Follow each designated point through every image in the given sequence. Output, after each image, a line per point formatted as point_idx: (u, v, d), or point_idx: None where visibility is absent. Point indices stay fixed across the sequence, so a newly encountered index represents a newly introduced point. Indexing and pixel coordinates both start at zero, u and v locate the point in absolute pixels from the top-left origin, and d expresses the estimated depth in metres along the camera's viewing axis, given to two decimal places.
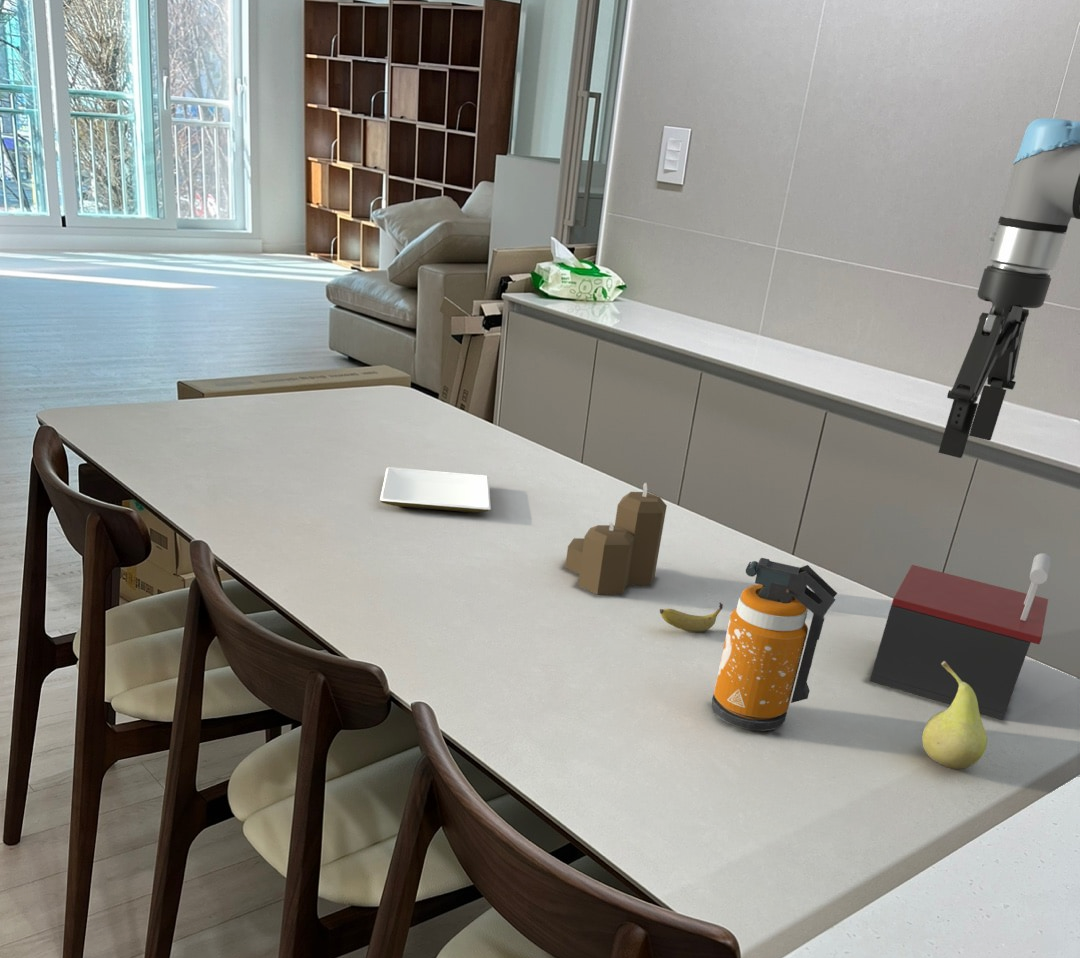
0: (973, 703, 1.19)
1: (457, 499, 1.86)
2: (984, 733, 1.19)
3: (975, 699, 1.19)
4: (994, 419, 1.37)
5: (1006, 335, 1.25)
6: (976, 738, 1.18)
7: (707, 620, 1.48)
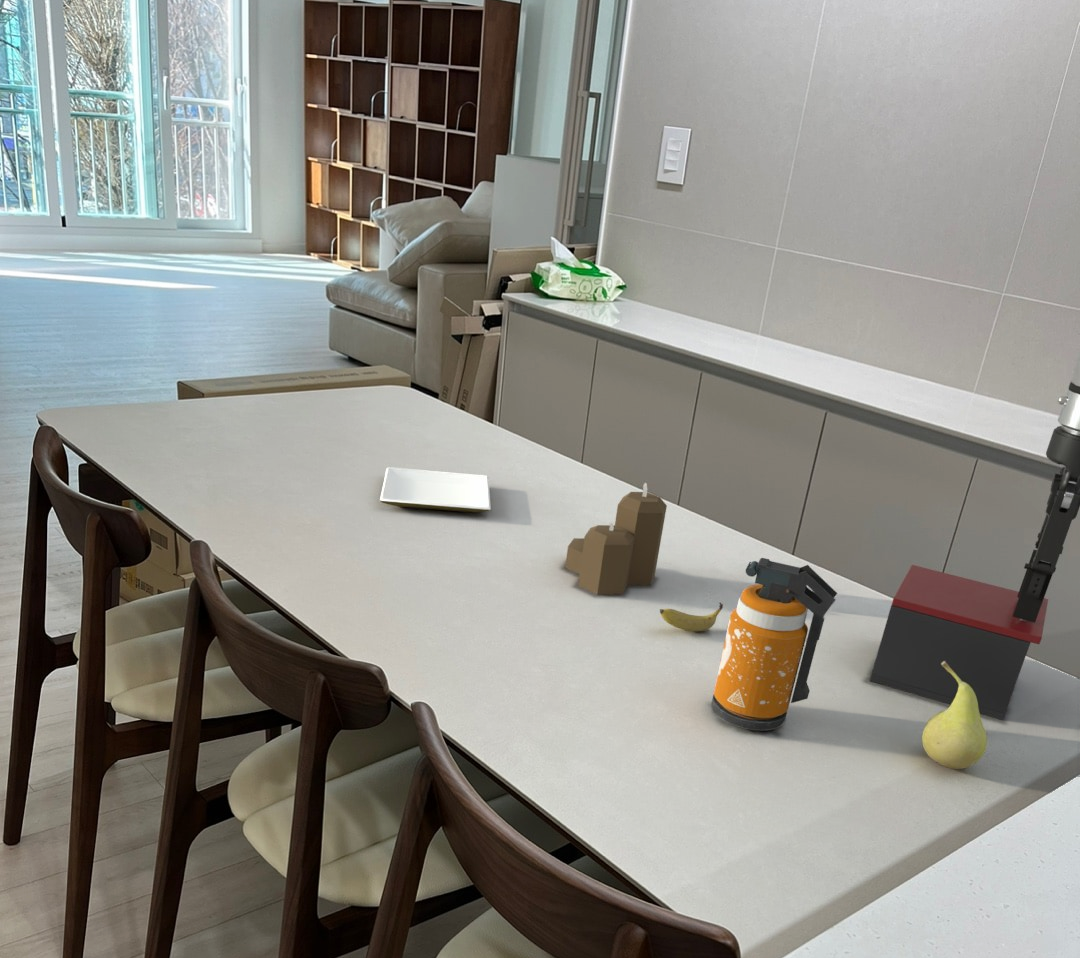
0: (973, 703, 1.19)
1: (457, 499, 1.86)
2: (984, 733, 1.19)
3: (975, 699, 1.19)
4: None
5: (1078, 500, 1.26)
6: (976, 738, 1.18)
7: (707, 620, 1.48)
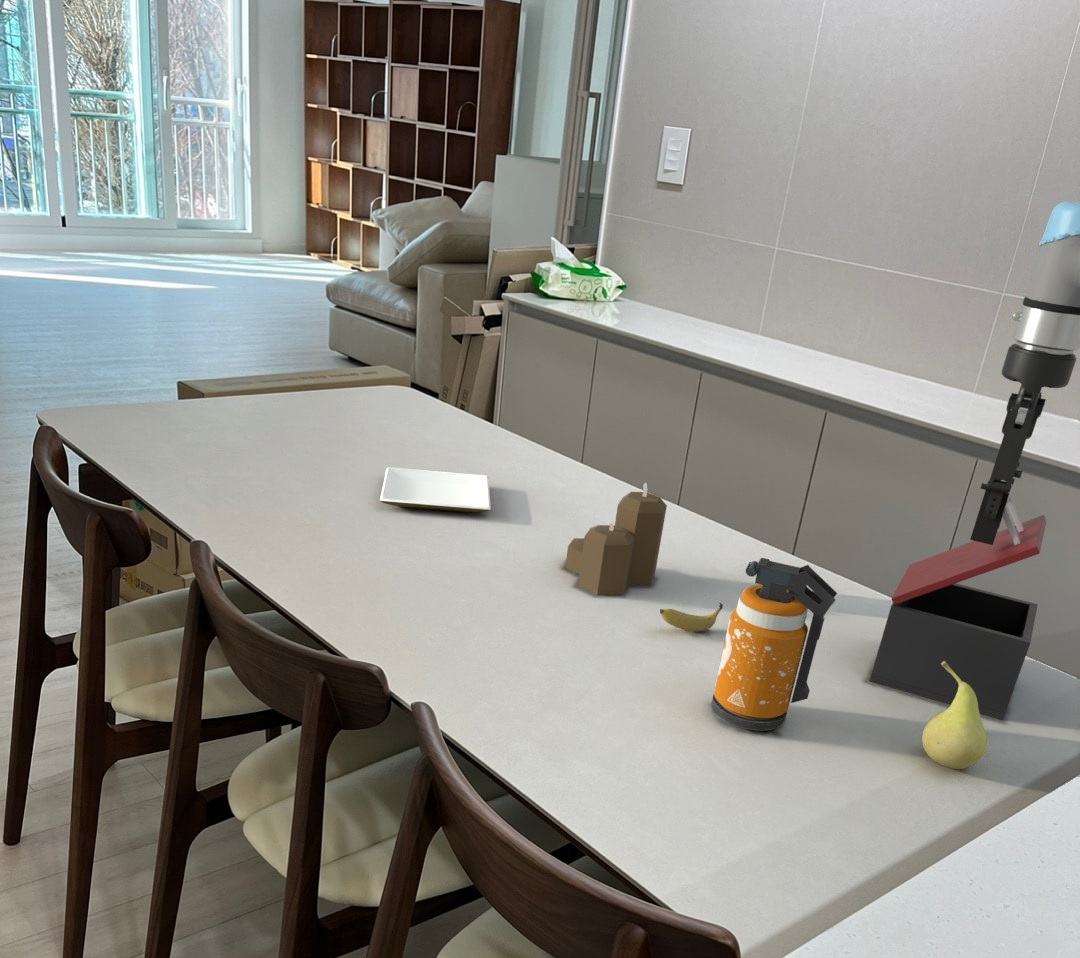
0: (973, 703, 1.19)
1: (457, 499, 1.86)
2: (984, 733, 1.19)
3: (975, 699, 1.19)
4: None
5: (1034, 418, 1.25)
6: (976, 738, 1.18)
7: (707, 620, 1.48)
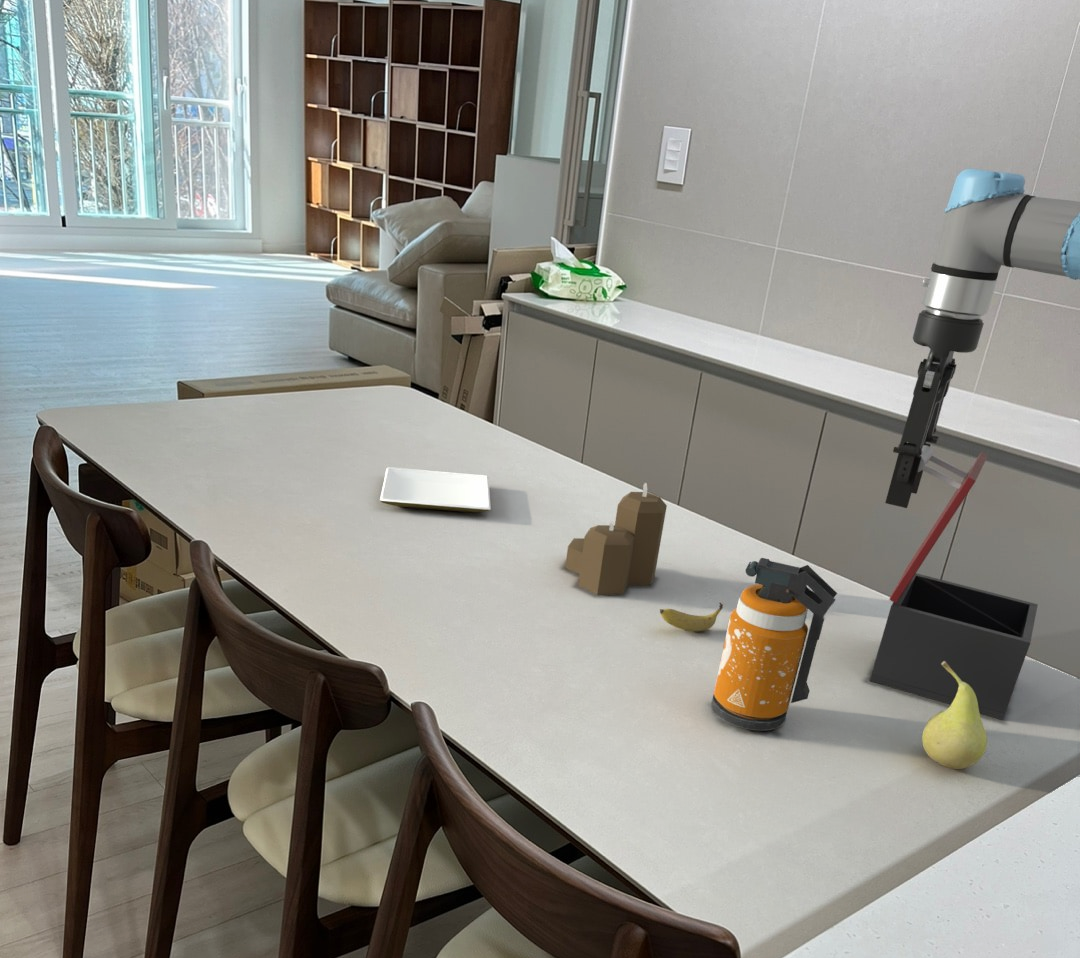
0: (973, 703, 1.19)
1: (457, 499, 1.86)
2: (984, 733, 1.19)
3: (975, 699, 1.19)
4: (920, 473, 1.38)
5: (943, 382, 1.28)
6: (976, 738, 1.18)
7: (707, 620, 1.48)
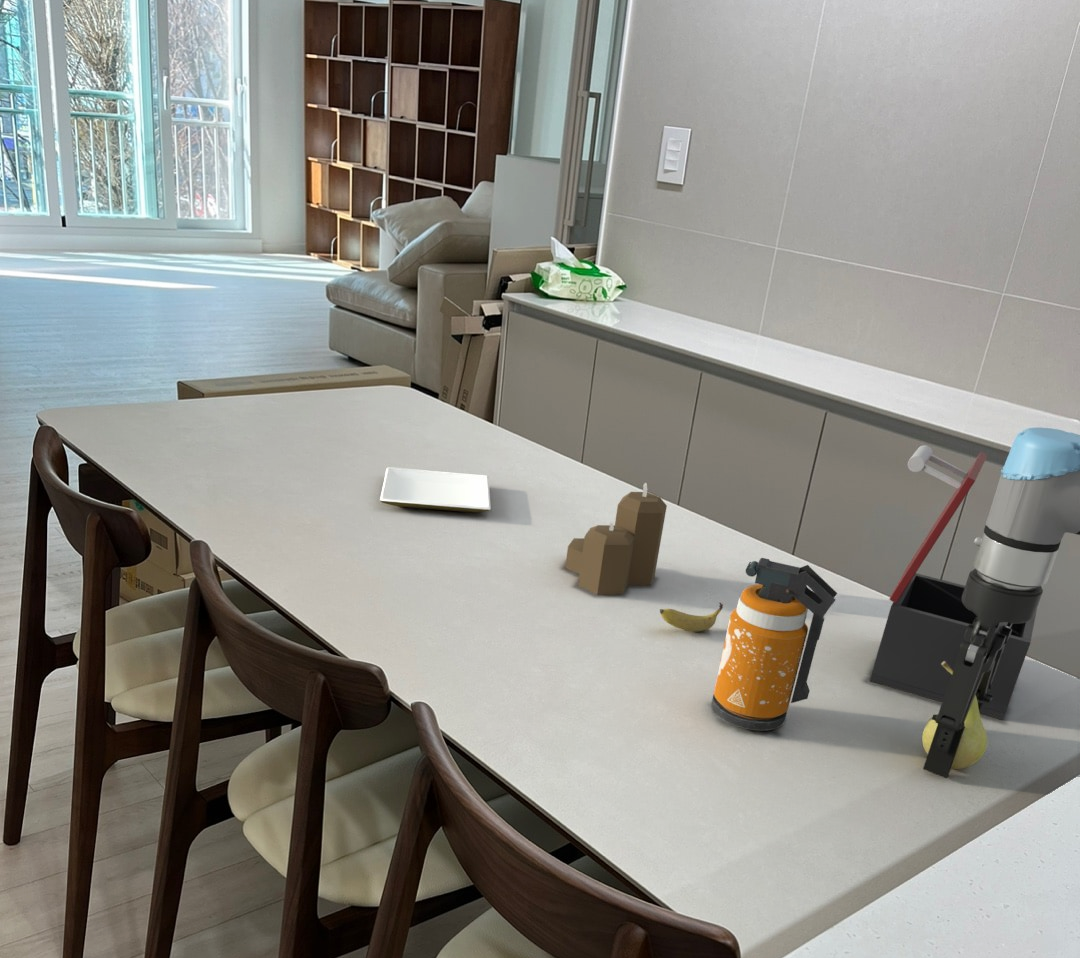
0: (973, 703, 1.19)
1: (457, 499, 1.86)
2: (984, 733, 1.19)
3: (975, 699, 1.19)
4: None
5: (992, 652, 1.14)
6: (976, 738, 1.18)
7: (707, 620, 1.48)
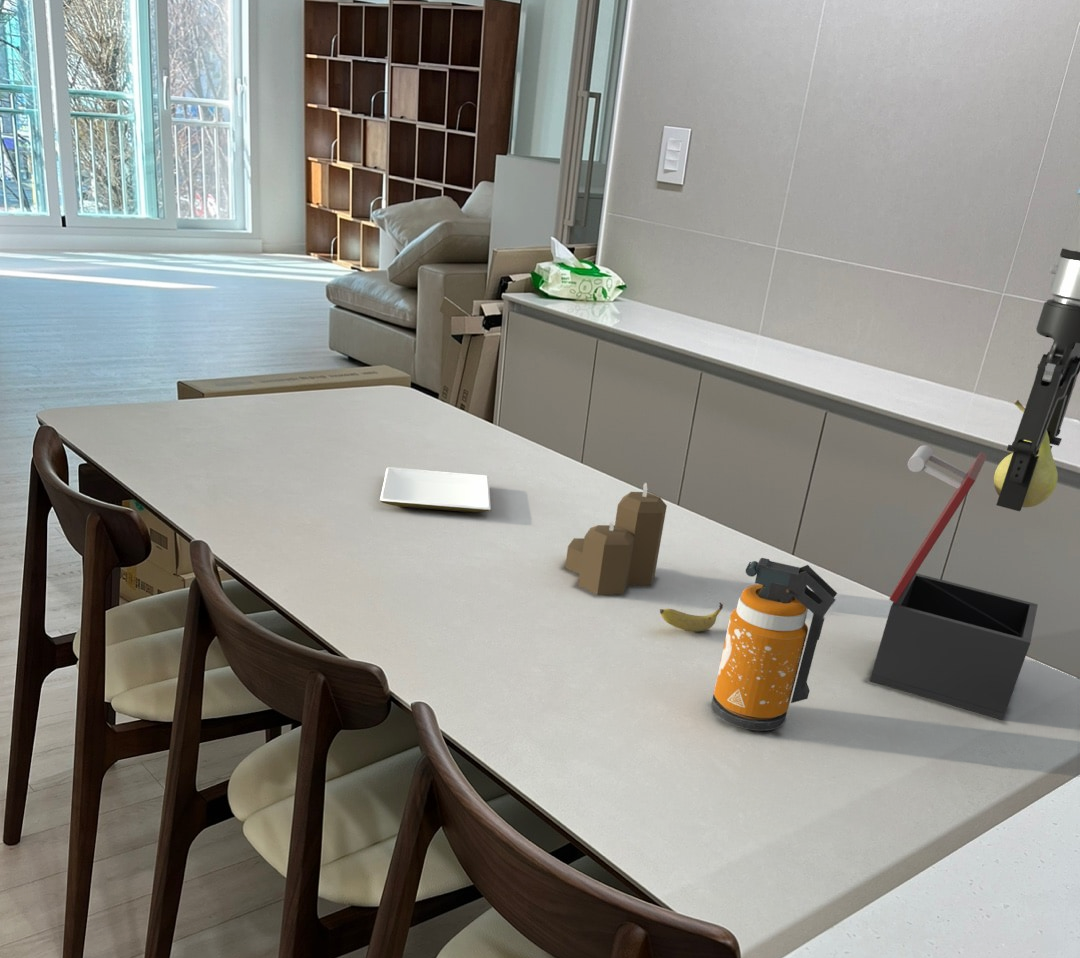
0: (1045, 437, 1.24)
1: (457, 499, 1.86)
2: (1055, 467, 1.25)
3: (1047, 434, 1.24)
4: None
5: (1067, 377, 1.19)
6: (1048, 470, 1.23)
7: (707, 620, 1.48)
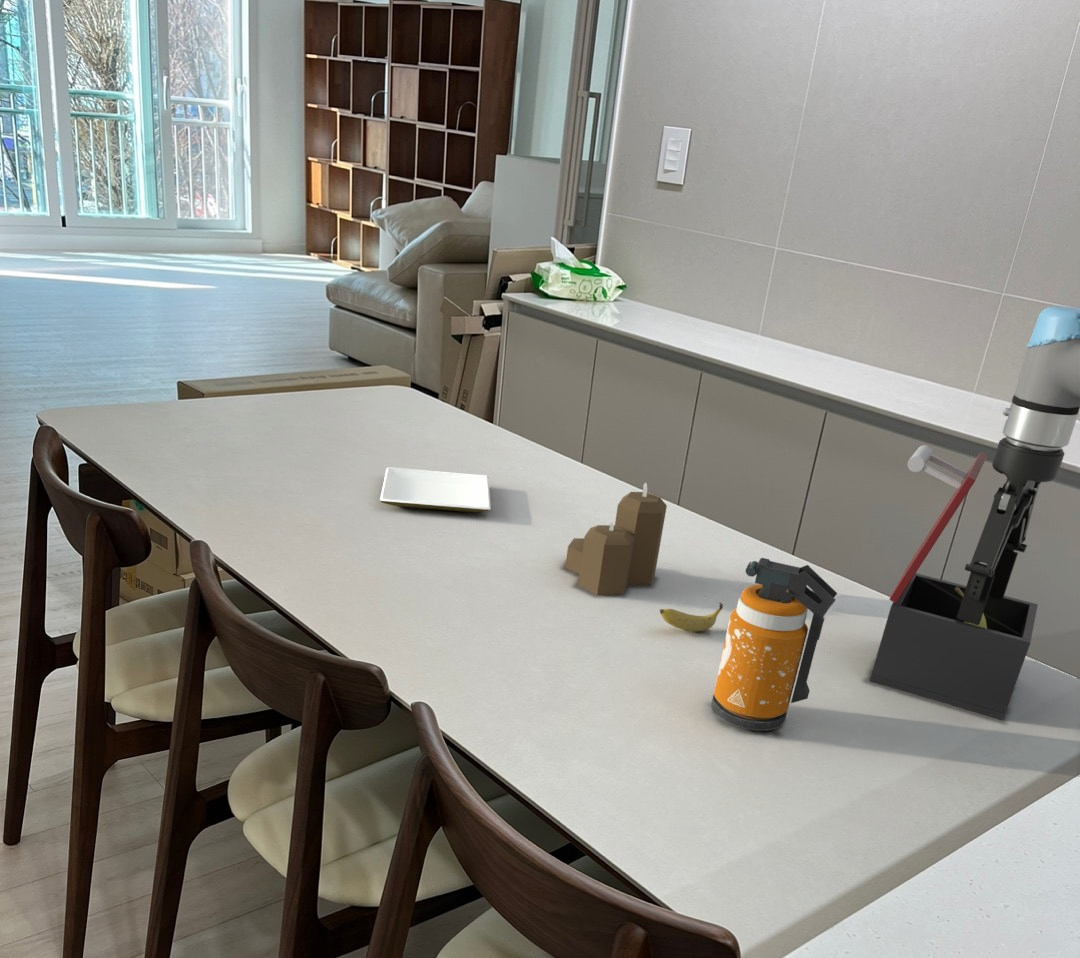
0: (982, 622, 1.38)
1: (457, 499, 1.86)
2: None
3: (984, 619, 1.38)
4: (1006, 580, 1.41)
5: (1021, 508, 1.29)
6: None
7: (707, 620, 1.48)
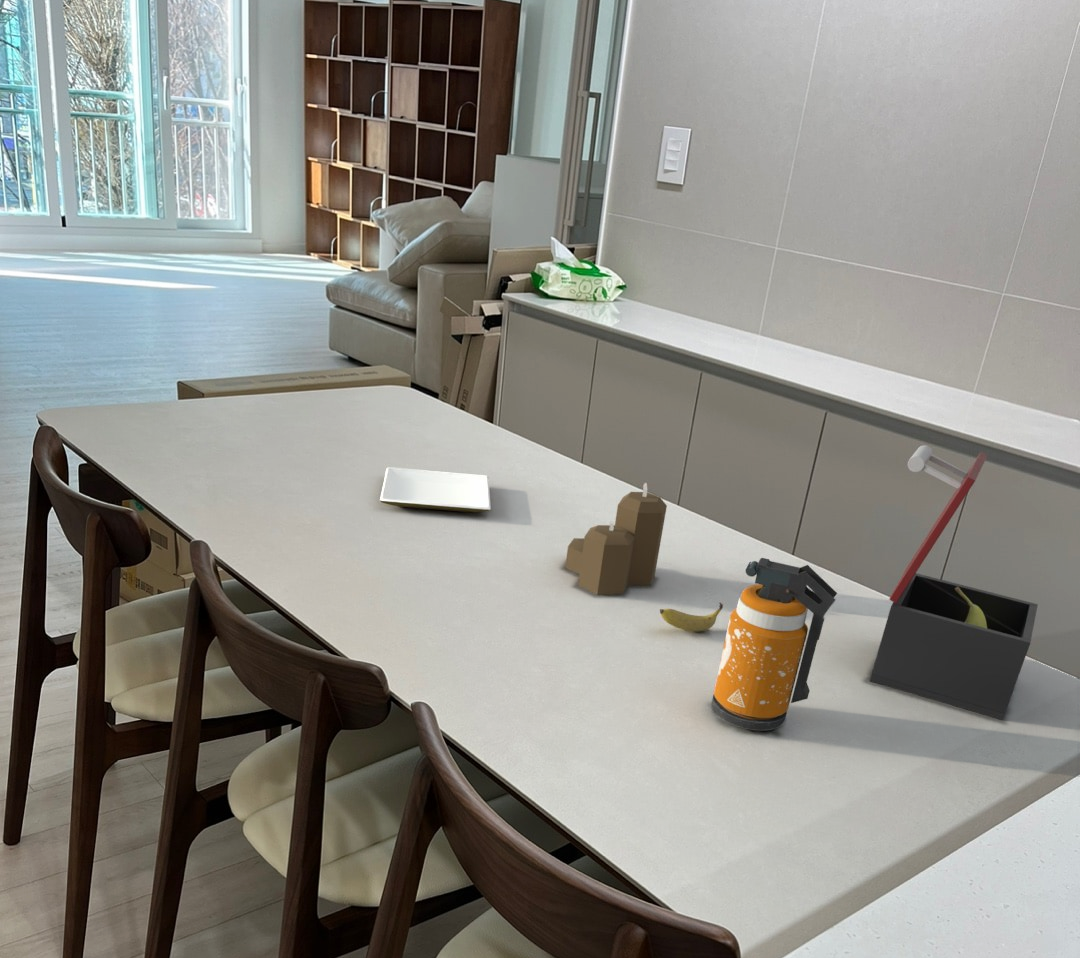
0: (982, 622, 1.38)
1: (457, 499, 1.86)
2: None
3: (984, 619, 1.38)
4: None
5: None
6: None
7: (707, 620, 1.48)
